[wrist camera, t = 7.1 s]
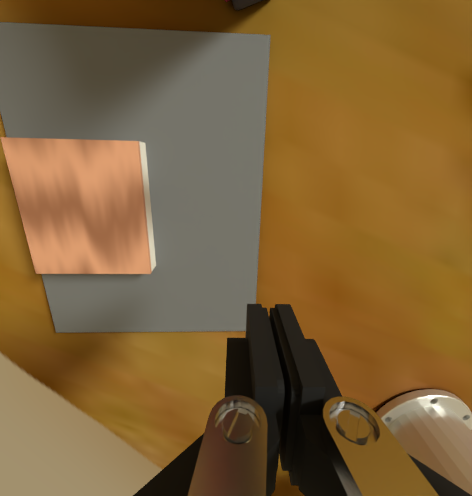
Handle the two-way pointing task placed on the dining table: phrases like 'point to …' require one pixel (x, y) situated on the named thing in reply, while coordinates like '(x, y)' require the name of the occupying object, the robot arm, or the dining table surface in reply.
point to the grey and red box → (243, 3)
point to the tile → (83, 204)
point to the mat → (155, 161)
